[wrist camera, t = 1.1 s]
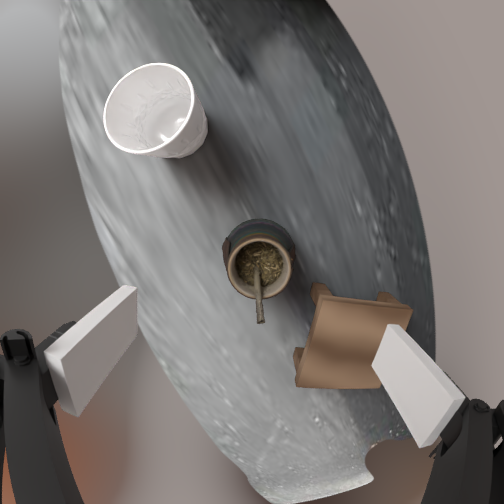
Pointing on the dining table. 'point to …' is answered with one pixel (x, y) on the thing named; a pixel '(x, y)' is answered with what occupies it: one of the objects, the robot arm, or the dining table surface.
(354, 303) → the walnut stool
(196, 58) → the dining table surface
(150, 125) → the white cup
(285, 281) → the mate gourd
